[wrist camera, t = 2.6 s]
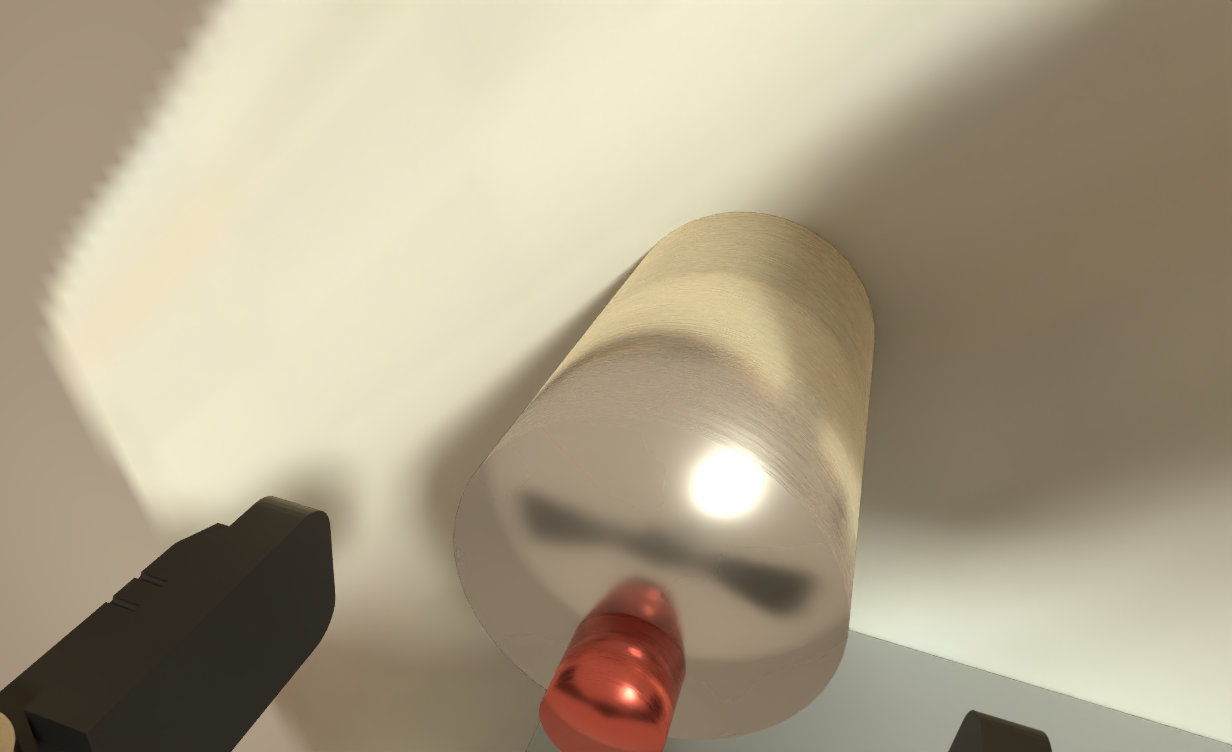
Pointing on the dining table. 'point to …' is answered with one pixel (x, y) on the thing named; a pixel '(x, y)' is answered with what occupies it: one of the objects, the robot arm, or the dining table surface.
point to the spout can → (684, 495)
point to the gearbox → (933, 712)
